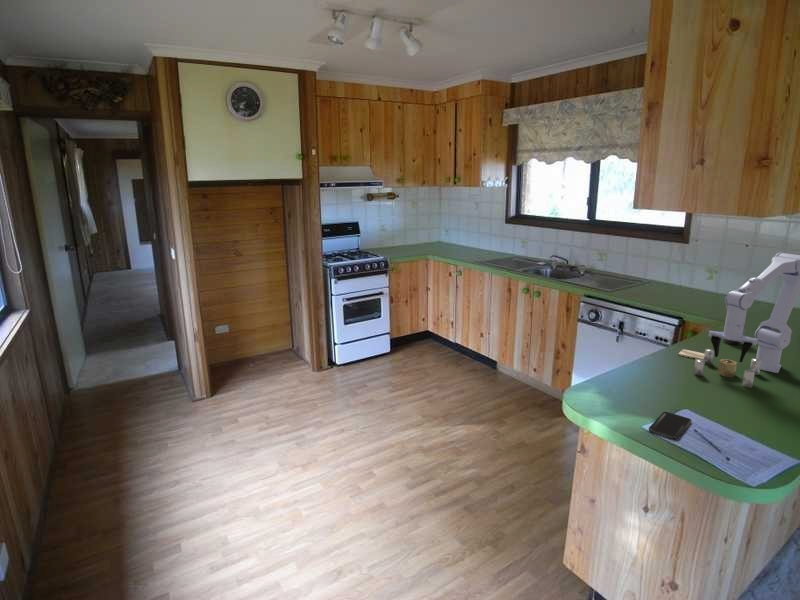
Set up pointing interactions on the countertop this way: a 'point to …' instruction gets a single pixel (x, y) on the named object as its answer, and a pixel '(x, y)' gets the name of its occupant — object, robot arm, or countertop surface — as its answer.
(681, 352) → the oak pad
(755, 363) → the steel spacers
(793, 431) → the countertop surface
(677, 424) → the phone
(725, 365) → the brass nut
